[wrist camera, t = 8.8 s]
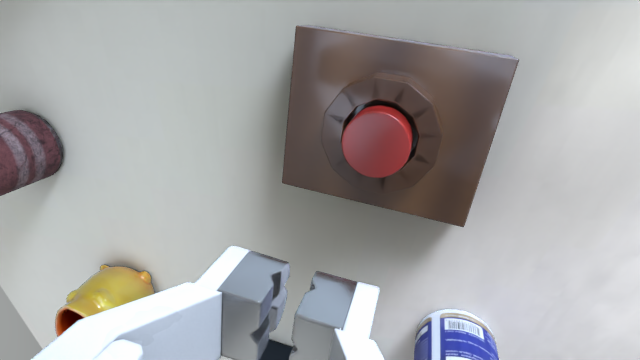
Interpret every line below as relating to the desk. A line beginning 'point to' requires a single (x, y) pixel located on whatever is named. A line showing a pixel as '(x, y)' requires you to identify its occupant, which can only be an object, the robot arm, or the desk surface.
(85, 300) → the mug
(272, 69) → the desk surface
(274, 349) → the plate
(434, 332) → the pill bottle
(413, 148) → the block
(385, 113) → the bell button
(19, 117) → the can
